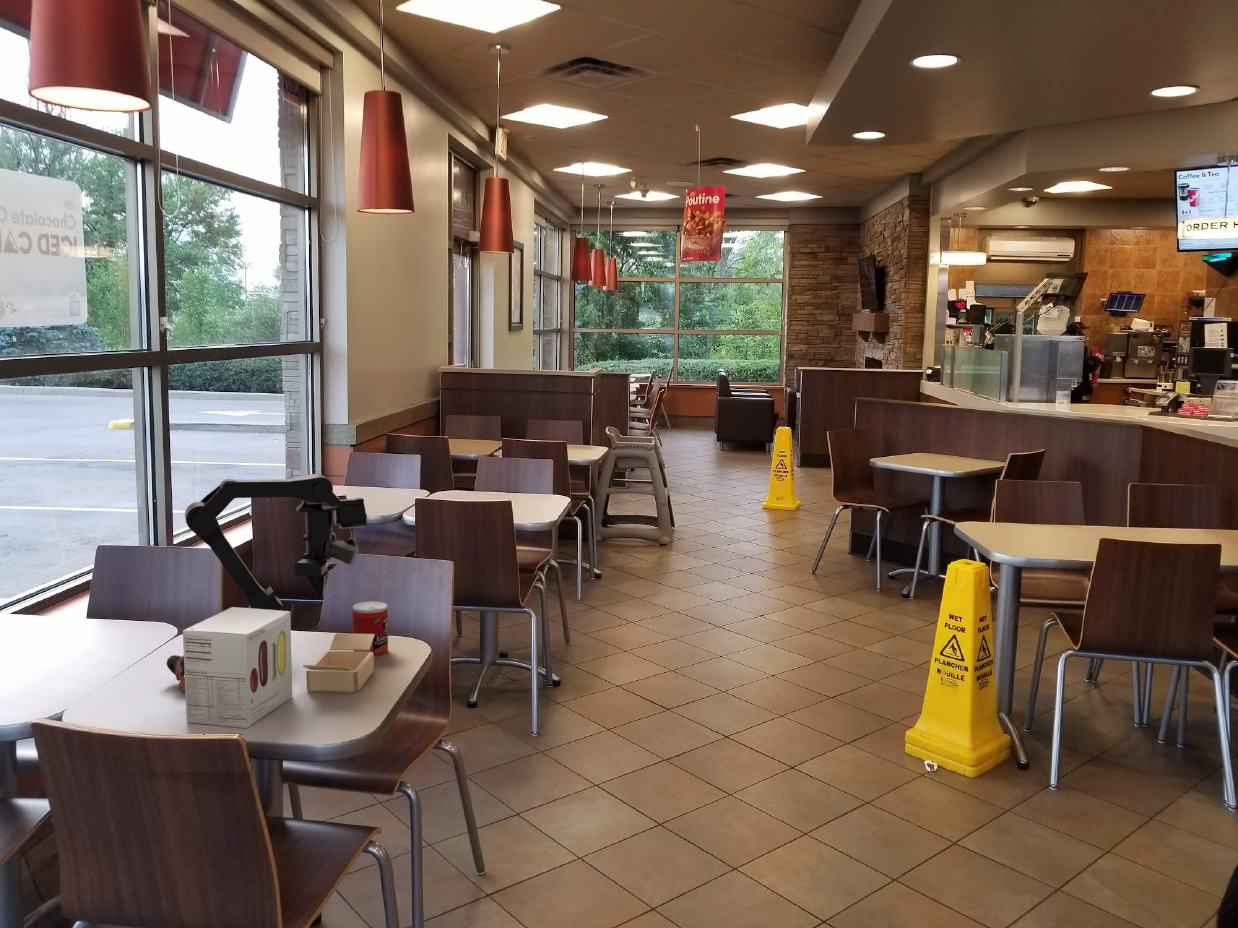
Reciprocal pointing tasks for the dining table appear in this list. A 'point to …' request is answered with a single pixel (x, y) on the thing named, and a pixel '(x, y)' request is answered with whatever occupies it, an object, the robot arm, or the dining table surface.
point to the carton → (340, 672)
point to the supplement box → (237, 666)
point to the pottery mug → (177, 669)
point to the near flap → (327, 667)
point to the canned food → (372, 624)
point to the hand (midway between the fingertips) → (320, 597)
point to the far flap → (352, 642)
